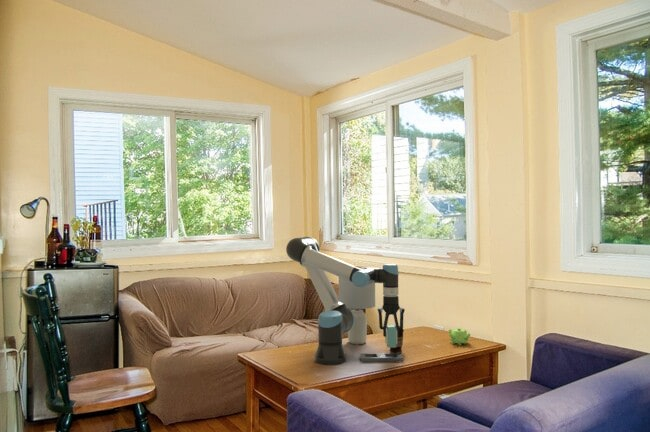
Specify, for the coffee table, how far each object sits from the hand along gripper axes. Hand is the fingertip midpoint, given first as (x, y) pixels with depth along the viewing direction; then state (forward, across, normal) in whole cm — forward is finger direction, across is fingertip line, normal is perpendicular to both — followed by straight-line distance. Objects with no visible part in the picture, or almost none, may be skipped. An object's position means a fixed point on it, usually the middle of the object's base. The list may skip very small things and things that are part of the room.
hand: (391, 343), depth 255 cm
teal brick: (+2, 0, 0) cm, 2 cm away
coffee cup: (+8, +5, +14) cm, 17 cm away
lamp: (+8, -13, +35) cm, 38 cm away
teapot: (+8, +42, +28) cm, 51 cm away
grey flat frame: (+8, -5, 0) cm, 10 cm away
